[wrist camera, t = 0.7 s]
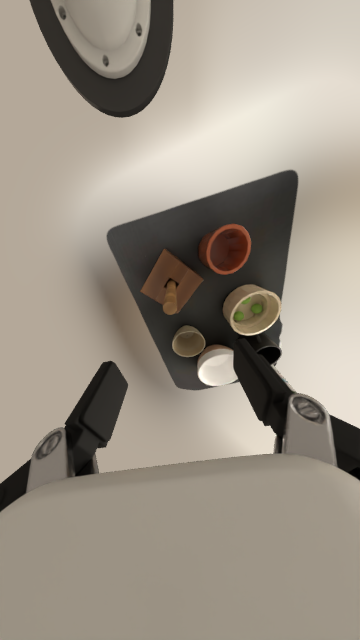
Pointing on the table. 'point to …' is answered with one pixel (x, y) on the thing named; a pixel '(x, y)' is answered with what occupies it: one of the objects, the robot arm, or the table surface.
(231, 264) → the crock
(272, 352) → the mug
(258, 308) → the pea
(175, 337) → the flower pot
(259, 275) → the table surface
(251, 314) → the mixing bowl
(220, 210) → the table surface
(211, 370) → the bowl
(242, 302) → the pea
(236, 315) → the pea
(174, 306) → the wooden dowel peg
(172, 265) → the holder
